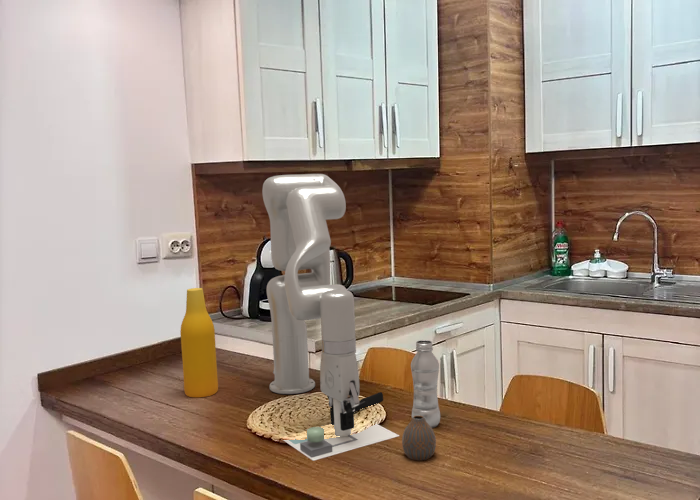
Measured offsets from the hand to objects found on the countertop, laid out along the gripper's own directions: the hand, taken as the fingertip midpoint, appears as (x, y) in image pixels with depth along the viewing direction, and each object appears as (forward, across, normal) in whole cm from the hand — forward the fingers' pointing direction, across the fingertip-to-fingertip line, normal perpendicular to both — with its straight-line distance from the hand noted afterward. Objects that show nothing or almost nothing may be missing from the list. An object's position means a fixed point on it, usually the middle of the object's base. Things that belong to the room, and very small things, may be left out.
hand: (342, 425), depth 158 cm
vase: (+3, +19, +7) cm, 20 cm away
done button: (0, +4, -9) cm, 10 cm away
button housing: (+2, +4, -9) cm, 10 cm away
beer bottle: (+3, -52, -14) cm, 54 cm away
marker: (+2, 0, 0) cm, 2 cm away
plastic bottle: (+3, +6, +19) cm, 20 cm away
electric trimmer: (+3, -13, +13) cm, 19 cm away
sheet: (+3, 0, -1) cm, 3 cm away
